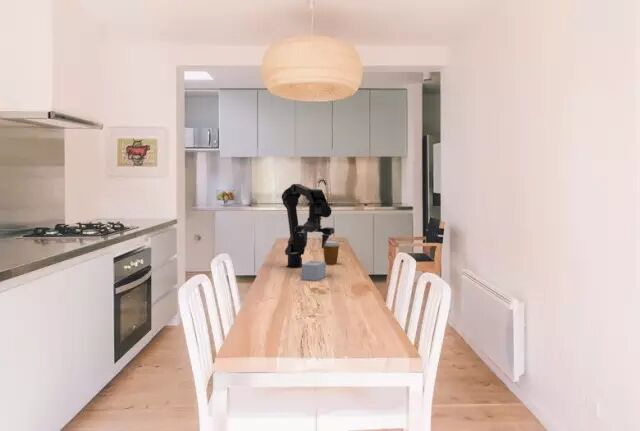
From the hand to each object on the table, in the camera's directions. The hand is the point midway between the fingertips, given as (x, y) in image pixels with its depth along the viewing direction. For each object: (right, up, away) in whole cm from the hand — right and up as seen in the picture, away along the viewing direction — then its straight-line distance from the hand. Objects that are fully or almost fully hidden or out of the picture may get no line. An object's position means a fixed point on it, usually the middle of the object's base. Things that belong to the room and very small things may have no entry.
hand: (314, 247), depth 239 cm
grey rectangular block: (0, -14, -12) cm, 18 cm away
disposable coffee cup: (+9, -11, +27) cm, 30 cm away
